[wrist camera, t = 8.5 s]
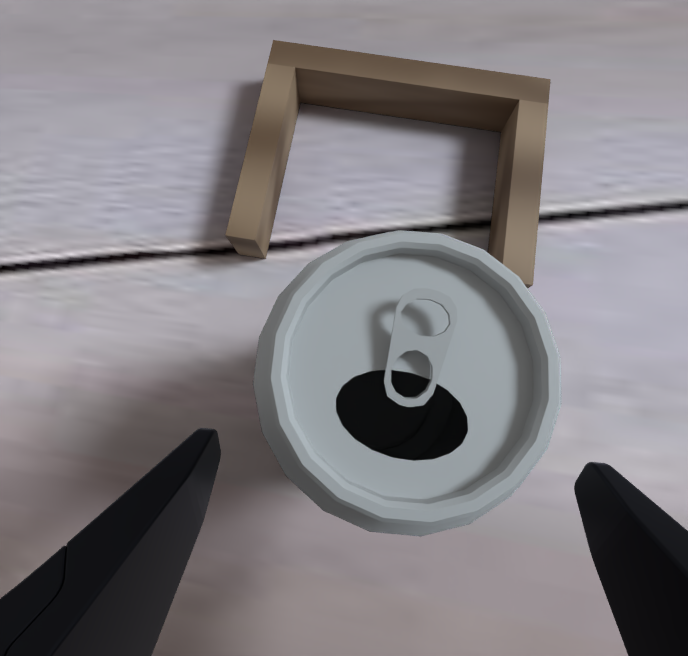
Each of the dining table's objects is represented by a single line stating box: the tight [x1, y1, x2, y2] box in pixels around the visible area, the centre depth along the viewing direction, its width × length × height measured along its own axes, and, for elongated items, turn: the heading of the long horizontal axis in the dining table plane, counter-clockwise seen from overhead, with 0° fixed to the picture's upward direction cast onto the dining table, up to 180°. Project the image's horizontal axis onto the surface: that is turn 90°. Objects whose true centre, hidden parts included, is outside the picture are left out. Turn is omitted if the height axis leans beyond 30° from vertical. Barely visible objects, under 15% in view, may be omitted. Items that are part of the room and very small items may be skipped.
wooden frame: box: [226, 40, 550, 288], centre depth 21 cm, size 12×15×2 cm
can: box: [253, 230, 561, 536], centre depth 14 cm, size 8×8×12 cm
